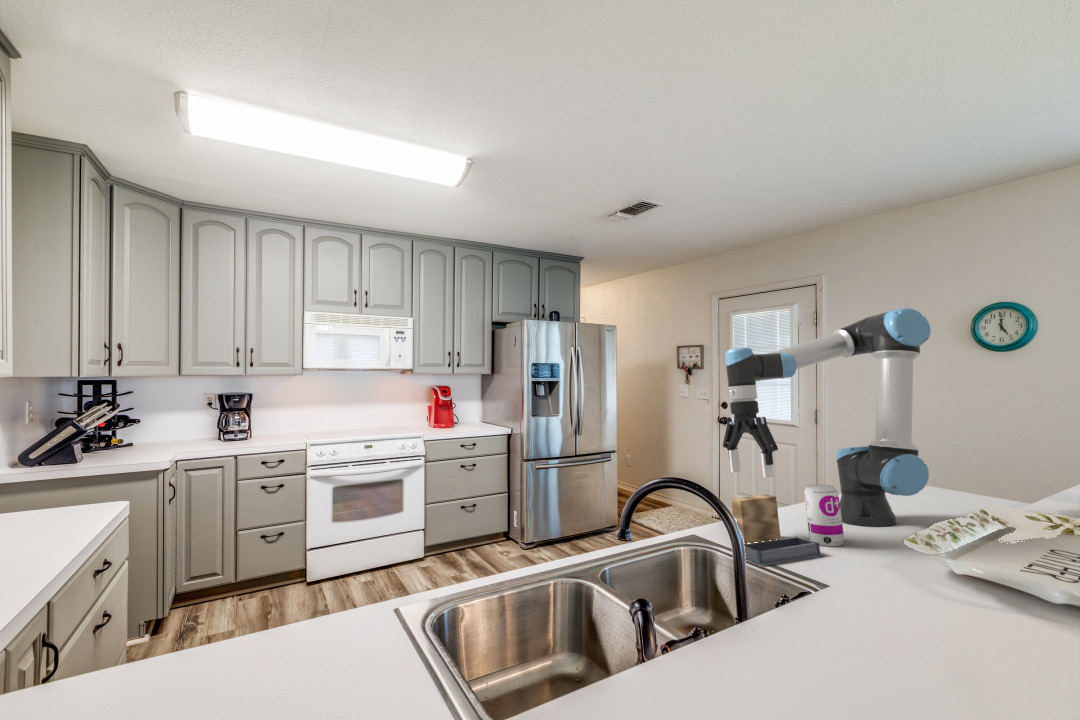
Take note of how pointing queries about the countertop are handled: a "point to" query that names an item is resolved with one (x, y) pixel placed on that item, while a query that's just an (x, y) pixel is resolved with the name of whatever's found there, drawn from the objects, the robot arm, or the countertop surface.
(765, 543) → the track
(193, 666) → the countertop surface
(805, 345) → the robot arm
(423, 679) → the countertop surface
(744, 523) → the panel
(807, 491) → the supplement can
